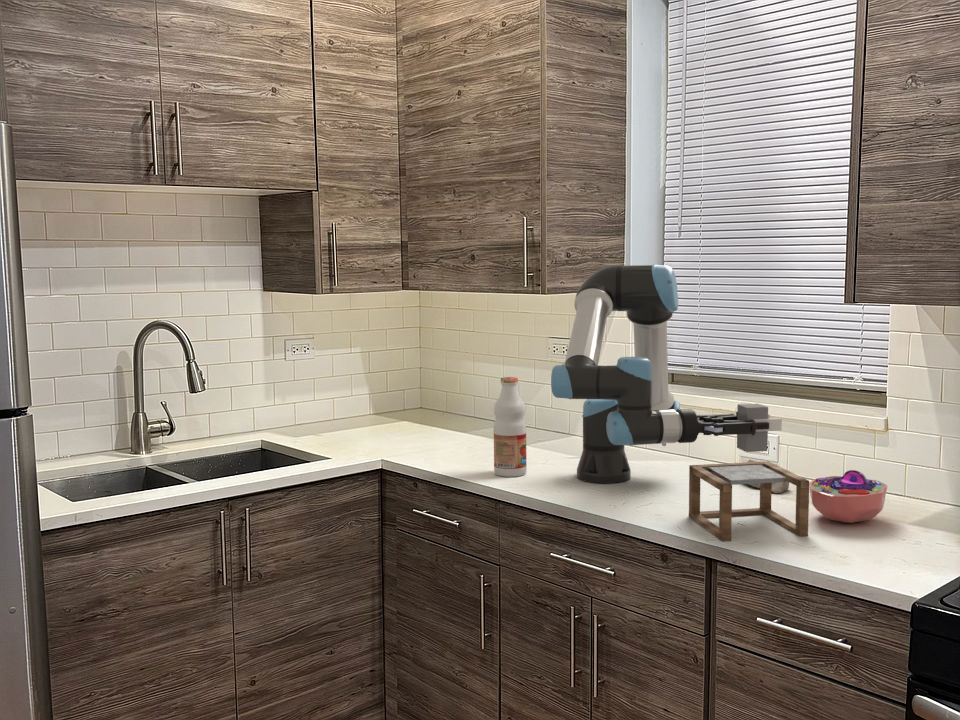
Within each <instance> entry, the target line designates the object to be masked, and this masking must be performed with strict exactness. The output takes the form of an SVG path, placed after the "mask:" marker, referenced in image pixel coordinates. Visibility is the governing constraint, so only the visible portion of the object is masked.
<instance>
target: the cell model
mask: <svg viewBox="0 0 960 720" xmlns="http://www.w3.org/2000/svg"><path fill="white" fill-rule="evenodd" d="M887 490H888V485H887V484H886V483H885V482H881V481H879V480H875V479H870V478H869V479H868V478H867V477H866V475H865V474H864V473H862V472H860V471H859V470H855V469H850V470H847V471H845V472H844V474H843V475H842V476H841V475H840V476H838V475H834V476H832V475H831V476H826V477H825V476H824V477H818V478H817V477H816V478H814V479H813V480H811V481H809V496H810V499H811V504H812V506H813V508H815V510H816V511H817V512H819V513H820V514H821V515H822V516H823V517H825V518H827V519H829V520H831V521H837V522H842V523H846V524H847V523H848V524H854V523H857V522H864V521H868V520H871V519H874V518H876V517H877V515H879V514H880V513H881V512H882V511H883V509H884V506H885V503H886V502H885V501H886V495H887Z"/></svg>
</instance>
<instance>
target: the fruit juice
mask: <svg viewBox="0 0 960 720" xmlns="http://www.w3.org/2000/svg"><path fill="white" fill-rule="evenodd" d="M518 379H519V378H518V377H516V376H506V377H505V376H503V377H501V378H500V384H501V391H500V394H499V397H497V400H496V401H495V402H494V406H493V413H494V416H495V421H494V424H493V471H494V474H495V475H497V476H499V477H504V478H516V477H522V476H524V475H526V473H527V424H526V421H525V414H526V403H525V402H524V400H523V399H522V398H521V396H520V394H519V391H518V386H517V385H518V384H519V383H518V382H519V380H518Z"/></svg>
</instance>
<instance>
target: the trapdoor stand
mask: <svg viewBox="0 0 960 720" xmlns="http://www.w3.org/2000/svg"><path fill="white" fill-rule="evenodd" d="M744 465H764V467H766V468H768V469H770V470H772V471H774V472H776V473H778V474H780V475H782V476H784V477H786V481H788V482H789V484H792V485H794V486H796V489H795V492H796V493H795V523H794V522H793V521H791V520H790V519H788V518H786V517H784V516H782V515H781V514H779V513H778V512H776V511H774V510H772V493H773V492H772V483H760V488H759V507H755V508H738V509H733V485H731V484H729V483H728V482H726V481H724V480H723V479H721V478H719V477H717V476H716V475H714V474H712V473H710V472H709V471H707V470H705V467H724V466H744ZM688 469H689V471H688V473H689V475H688V477H689V480H688V481H689V482H688V517H689V518H691V519H692V520H693V521H694V522H696V523H698V524H699V525H700V527H702V528H704V529H705V530H707V531H708V532H710V533H711V534H712V535H714V536H715V537H716V538H717V539H719V540H720V541H722V542H732V526H733V525H732V521H733V517H738V516H739V517H740V516H741V517H742V516H756V515H757V516H758V515H759V516H760V515H763V516H765V517H767V518H769V519H770V520H772V521H774V522H775V523H777V524H779V525H780V526H782V527H784V528H785V529H787V530H788V531H790V532H792V533H793V534H794V535H796V536H798V537H808V536H809V515H810V514H809V513H810V480H808V479H806V478H804V477H802V476H800V475H797V474H795V473H794V472H792V471H789V469H788V470H787V469H785V468H784V467H781V466H779V465H777V464H776V465H775V463H773V462H771V461H768V460H765V461H757V462H748V461H747V462H729V463H728V462H726V463H707V464H690V465H688ZM701 480H702V481H704V482H706V483H708V484H709V485H711V486H712V487H714V488H716V489H717V490H719V506H718V507H719V510H704V511H702V510H701ZM709 518H719V520H718V522H719V523H718V525H716V524H715V523H713V522H712V521H710V520H709Z"/></svg>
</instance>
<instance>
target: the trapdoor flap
mask: <svg viewBox="0 0 960 720" xmlns="http://www.w3.org/2000/svg"><path fill="white" fill-rule="evenodd" d="M705 470H707V471H709V472H710V473H712V474H714V475H716V476H717V477H719V478H721V479H723V480H724V481H726V482H728V483H729V484H731V485H732V486H734V485H736V486H737V485H748V484H755V483H774V482H786V477H784V476H782V475H780V474H778V473H776V472H774V471H772V470H770V469H768V468H766V467H764V465H744V466H724V467H705Z"/></svg>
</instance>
